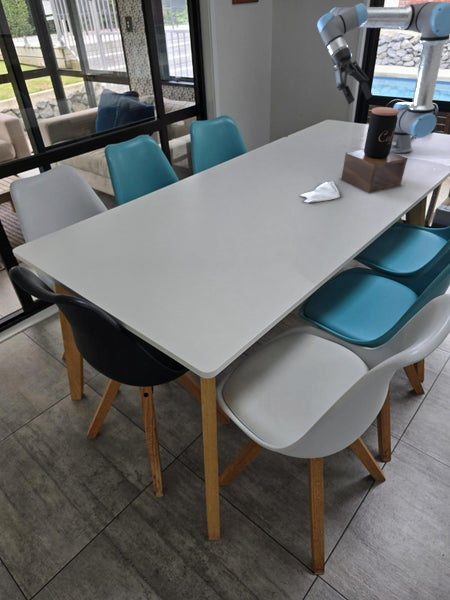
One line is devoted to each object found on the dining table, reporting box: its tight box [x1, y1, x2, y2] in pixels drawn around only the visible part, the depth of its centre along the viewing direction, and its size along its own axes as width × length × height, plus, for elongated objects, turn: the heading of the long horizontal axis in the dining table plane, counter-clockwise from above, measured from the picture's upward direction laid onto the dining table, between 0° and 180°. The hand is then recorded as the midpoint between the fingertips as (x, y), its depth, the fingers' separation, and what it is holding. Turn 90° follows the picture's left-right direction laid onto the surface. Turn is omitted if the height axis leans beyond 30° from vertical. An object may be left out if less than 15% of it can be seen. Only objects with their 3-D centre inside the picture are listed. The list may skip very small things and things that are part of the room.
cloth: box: [299, 180, 341, 204], centre depth 173 cm, size 26×14×2 cm, turn 136°
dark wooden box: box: [340, 148, 408, 194], centre depth 180 cm, size 18×18×12 cm
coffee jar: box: [363, 106, 399, 159], centre depth 171 cm, size 11×11×18 cm
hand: (360, 100), depth 173 cm, fingers open, 13 cm apart
